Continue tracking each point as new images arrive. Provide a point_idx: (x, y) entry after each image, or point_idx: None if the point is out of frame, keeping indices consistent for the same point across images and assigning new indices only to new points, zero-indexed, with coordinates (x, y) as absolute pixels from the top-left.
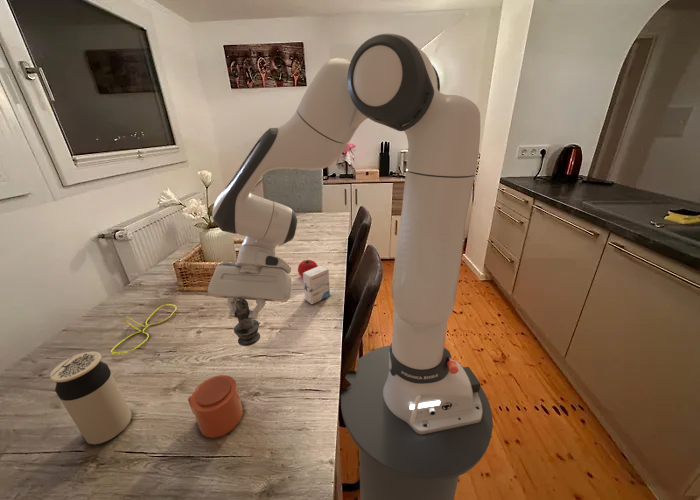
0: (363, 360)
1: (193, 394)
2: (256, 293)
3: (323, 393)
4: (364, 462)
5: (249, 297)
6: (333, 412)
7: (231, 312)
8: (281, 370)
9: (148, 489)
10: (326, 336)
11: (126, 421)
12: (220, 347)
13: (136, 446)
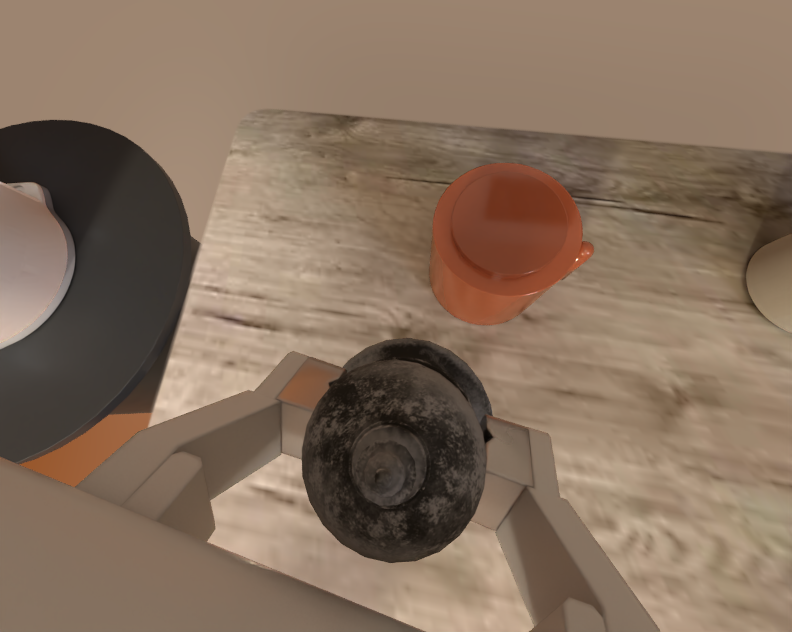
0: (69, 418)
1: (576, 224)
2: (37, 584)
3: (213, 305)
4: None
5: (250, 562)
6: (200, 248)
7: (530, 452)
8: None
9: (581, 142)
10: None
11: (757, 279)
12: None
13: (673, 226)
